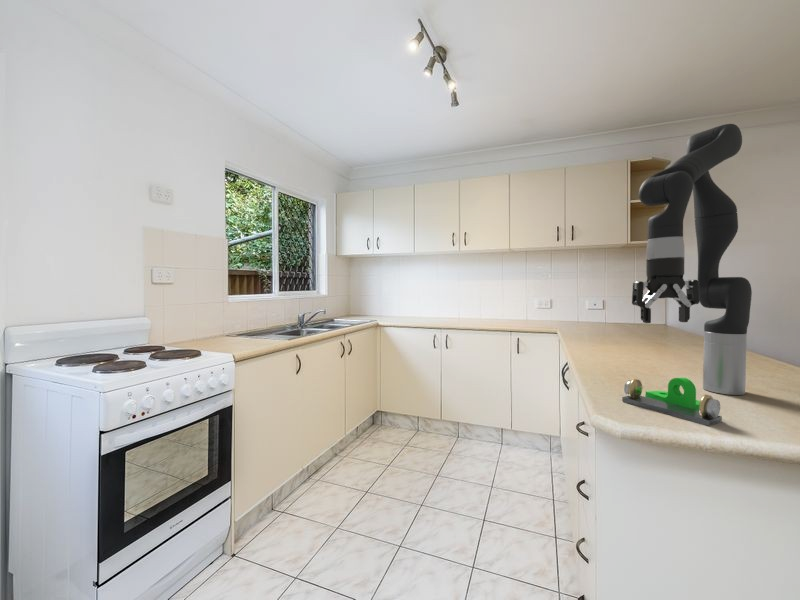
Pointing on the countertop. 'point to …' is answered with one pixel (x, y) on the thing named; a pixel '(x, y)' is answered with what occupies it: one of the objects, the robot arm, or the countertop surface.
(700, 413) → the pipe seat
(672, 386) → the mechanical part
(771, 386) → the countertop surface
